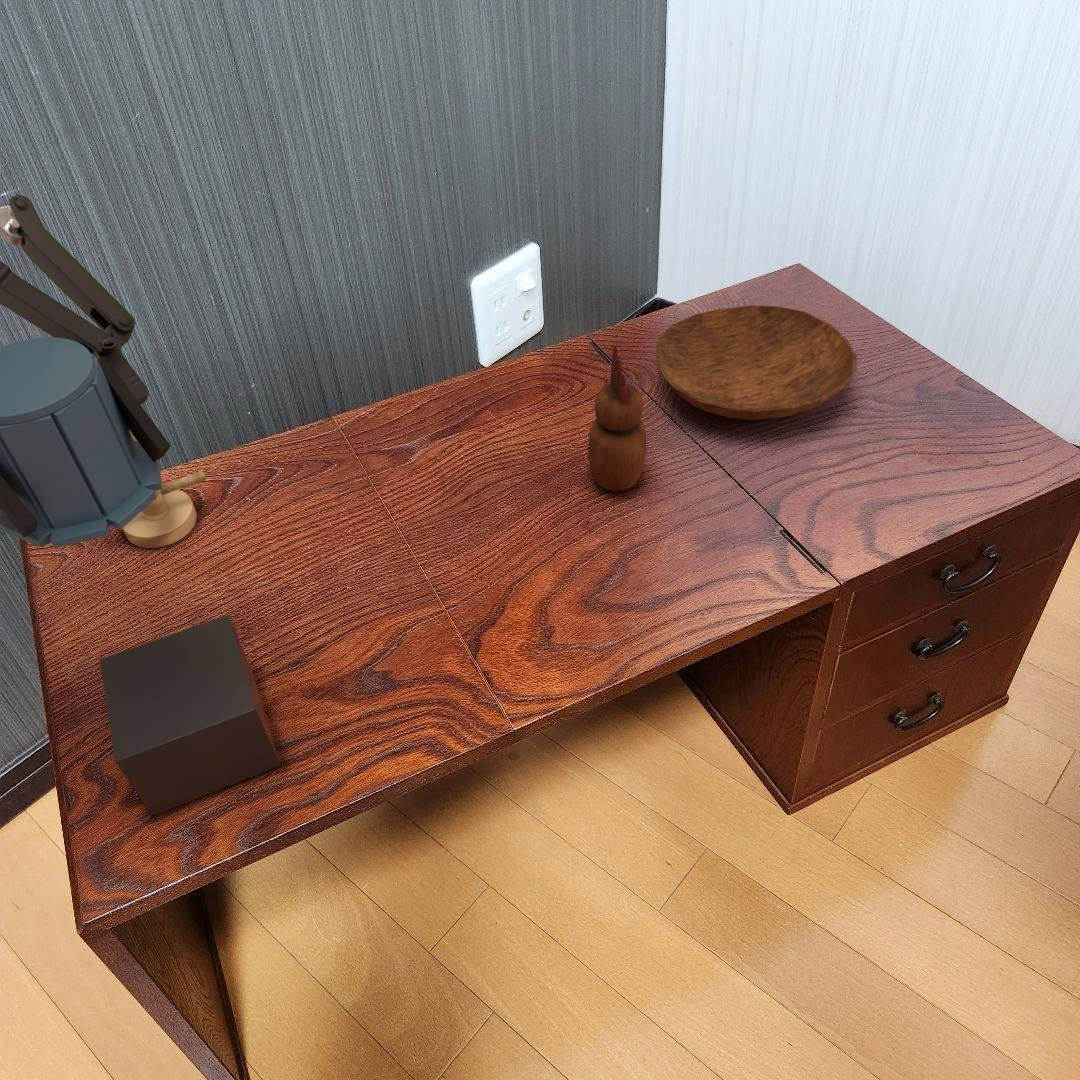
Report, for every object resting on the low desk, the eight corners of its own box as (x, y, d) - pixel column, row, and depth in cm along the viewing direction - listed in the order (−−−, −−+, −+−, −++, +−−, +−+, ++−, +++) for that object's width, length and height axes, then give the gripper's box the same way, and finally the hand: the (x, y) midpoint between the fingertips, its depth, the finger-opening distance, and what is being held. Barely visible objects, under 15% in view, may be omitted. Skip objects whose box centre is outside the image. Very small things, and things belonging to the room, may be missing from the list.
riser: (152, 816, 71) (115, 761, 65) (134, 716, 77) (98, 658, 72) (281, 766, 74) (256, 709, 68) (253, 673, 80) (228, 614, 74)
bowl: (879, 426, 101) (890, 389, 97) (686, 461, 98) (690, 424, 94) (802, 328, 114) (810, 292, 111) (631, 357, 111) (632, 321, 108)
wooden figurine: (591, 455, 99) (593, 334, 88) (646, 458, 98) (654, 337, 87) (584, 498, 94) (585, 377, 83) (641, 502, 94) (650, 380, 83)
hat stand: (110, 566, 90) (41, 437, 78) (97, 522, 94) (30, 394, 82) (226, 524, 93) (177, 395, 82) (208, 483, 98) (159, 356, 86)
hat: (-31, 517, 58) (-108, 400, 51) (84, 427, 64) (28, 313, 57) (81, 565, 55) (15, 447, 48) (192, 466, 60) (146, 350, 54)
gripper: (17, 130, 61) (229, 423, 65) (-350, 258, 50) (-71, 598, 54) (21, 61, 54) (255, 390, 58) (-398, 191, 44) (-78, 582, 48)
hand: (98, 490), depth 56 cm, fingers closed on hat, 8 cm apart
